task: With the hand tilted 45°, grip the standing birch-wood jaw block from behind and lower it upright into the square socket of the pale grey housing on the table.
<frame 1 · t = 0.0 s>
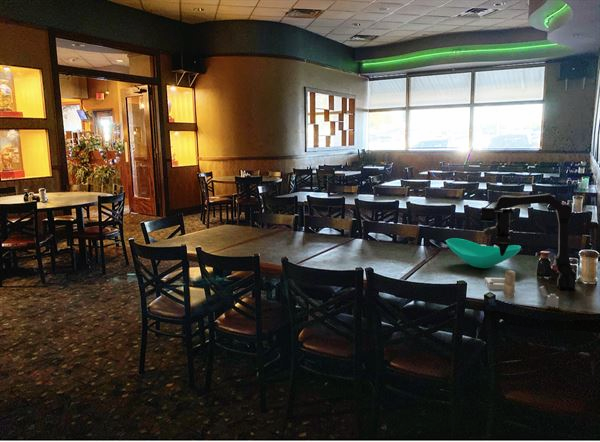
hand: (501, 253, 226), 15 cm above the table, tool pointing down, fingers open, 9 cm apart
table top decor: (481, 267, 257), on the table
lighter: (548, 306, 196), on the table
housing: (499, 286, 223), on the table
jaw: (508, 296, 209), on the table
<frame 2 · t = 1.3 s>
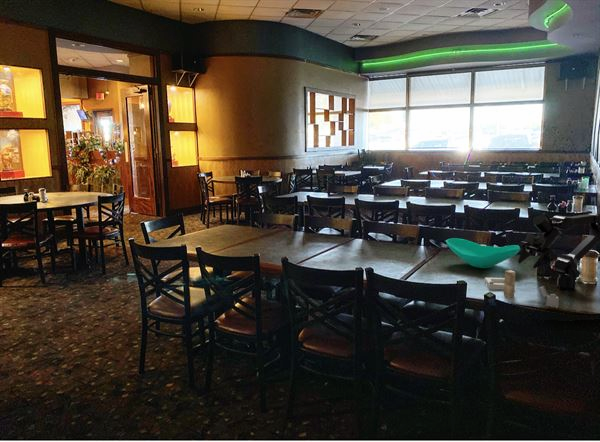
hand: (526, 265, 209), 13 cm above the table, tool tilted 45°, fingers open, 9 cm apart
nothing on the table moved.
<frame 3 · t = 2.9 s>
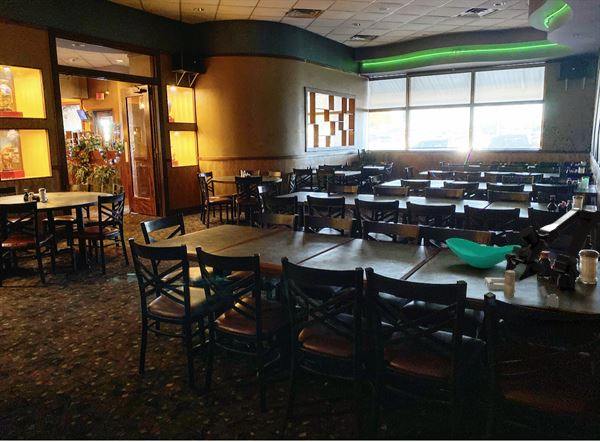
hand: (511, 277, 208), 9 cm above the table, tool tilted 45°, fingers open, 9 cm apart
nothing on the table moved.
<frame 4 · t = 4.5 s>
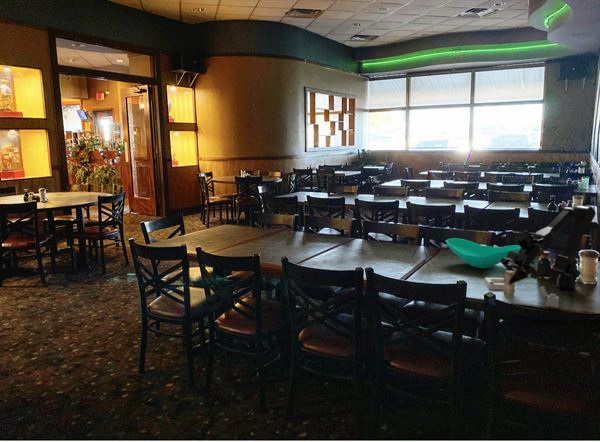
hand: (506, 282, 207), 7 cm above the table, tool tilted 45°, fingers closed on jaw, 3 cm apart
jaw: (508, 296, 209), on the table, touching gripper
everything else where it was.
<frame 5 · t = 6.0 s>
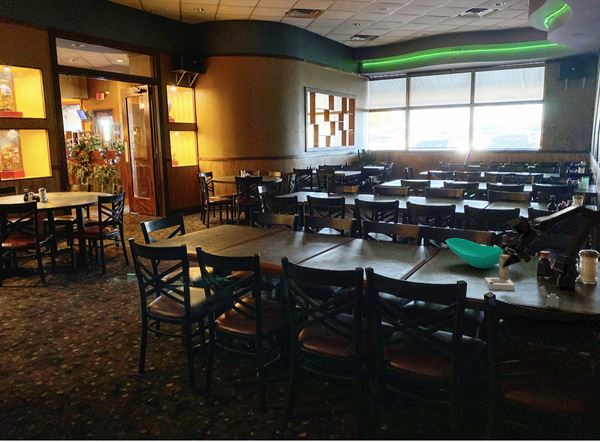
hand: (501, 265, 213), 12 cm above the table, tool tilted 45°, fingers closed on jaw, 3 cm apart
jaw: (503, 279, 214), point 6 cm above the table, touching gripper
everything else where it was.
when the fingers open (8 cm above the table, at t = 7.9 s): jaw drops 1 cm, resting in housing.
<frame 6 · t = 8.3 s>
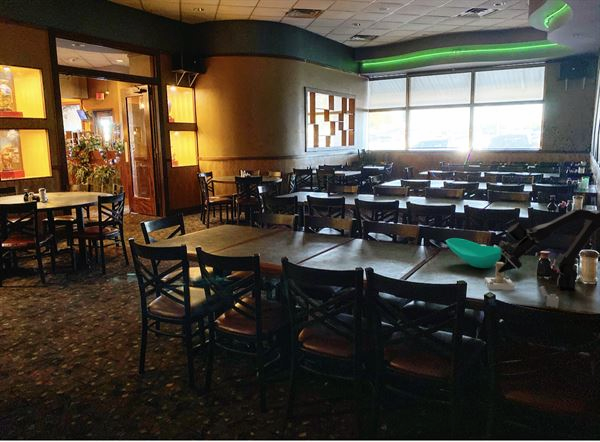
hand: (496, 269, 222), 8 cm above the table, tool tilted 45°, fingers open, 7 cm apart
jaw: (499, 286, 223), resting in housing
everything else where it was.
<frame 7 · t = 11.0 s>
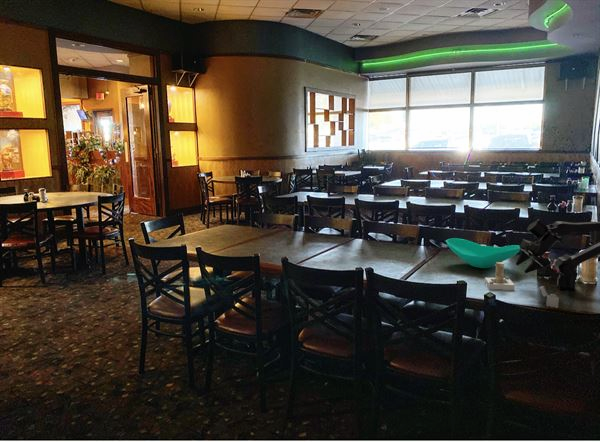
hand: (520, 268, 220), 9 cm above the table, tool tilted 40°, fingers open, 9 cm apart
nothing on the table moved.
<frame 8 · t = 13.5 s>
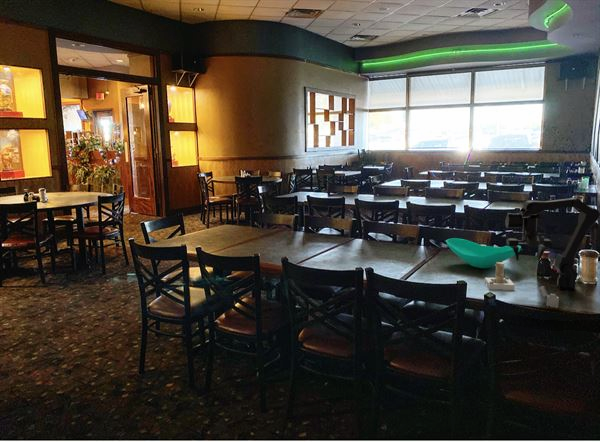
hand: (528, 260, 218), 13 cm above the table, tool pointing down, fingers open, 9 cm apart
nothing on the table moved.
at the end: jaw 0.1 cm off-centre on the housing, point 0.0 cm above the housing's base; jaw tilted 0°; the gripper is holding nothing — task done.
